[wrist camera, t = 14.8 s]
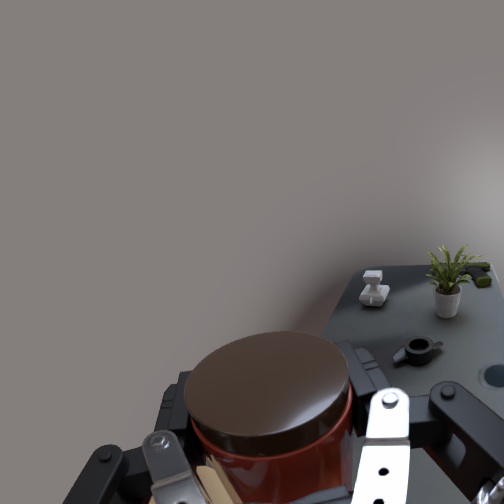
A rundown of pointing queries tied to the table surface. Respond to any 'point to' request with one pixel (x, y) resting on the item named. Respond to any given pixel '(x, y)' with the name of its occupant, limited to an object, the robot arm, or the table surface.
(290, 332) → the spice jar
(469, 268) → the gun
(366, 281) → the stamp
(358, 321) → the table surface
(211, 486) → the cork trivet
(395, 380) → the table surface
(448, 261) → the house plant
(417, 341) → the duct tape
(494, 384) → the table surface
